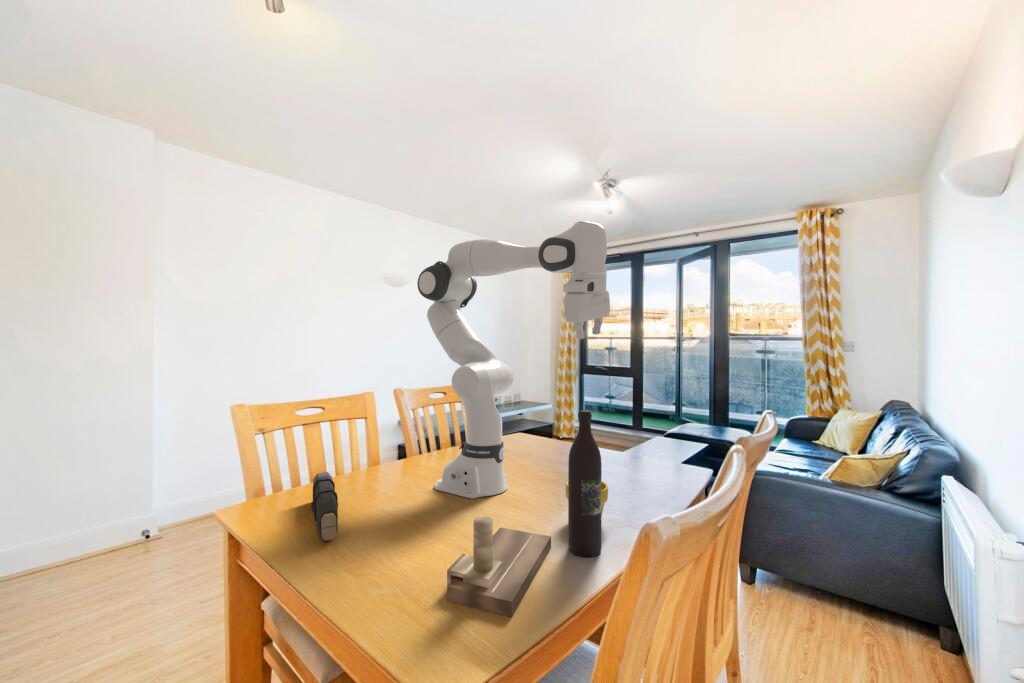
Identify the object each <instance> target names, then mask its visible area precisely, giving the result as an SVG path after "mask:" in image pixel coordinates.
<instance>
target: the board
mask: <svg viewBox="0 0 1024 683" xmlns="http://www.w3.org/2000/svg"><path fill="white" fill-rule="evenodd" d="M551 549H552V536H551V535H545V534H540V533H539V534H538V533H533V532H530V531H529V532H528V531H522V530H516V529H512V528H511V529H510V528H505V527H499V528H498V530H496V532H494V533H493V560H495V561H500V562H502V571H501V572H500V574H499V575H498V576H497V578H496V579H495V580H494V582H493V583H492V585H491V586H490V587H489V588H486V587H482V586H478V585H473V584H469V583H465V582H463V578H462V577H458V576H456V577H455V578H454V579H453V580H452V581H451V582H450V584H449V585H448V586H447V585H446V589H447V590H446V591H447V592H446V593H447V594H446V595H447V596H446V600H447V601H449V602H453V603H456V604H460V605H464V606H467V607H472V608H476V609H479V610H484V611H487V612H491V613H494V614H498V615H502V616H506V617H510V618H513V616H514V614H515V613H516V611H517V609H518V607H519V606H520V603H521V601H522V600H523V598H524V597H525V594H526V593H527V591H528V589H529V588H530V586H531V584H532V582H533V580H534V579H535V577H536V575H537V573H538V572H539V570H540V568H541V566H542V564H543V563H544V561H545V560H546V558H547V556H548V554H549V553H550V550H551Z"/></svg>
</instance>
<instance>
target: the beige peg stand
mask: <svg viewBox="0 0 1024 683" xmlns="http://www.w3.org/2000/svg"><path fill="white" fill-rule="evenodd" d="M493 522H494V520H493V518H492V517H489V516H477V517H476V518H474V519H473V545H472V546H473V547H472V548H473V549H472V550H473V554H472V555H470V554H466V553H462V554H461V555H460V556H459V557H458V558H457V559H456V560H455V561H454V562H453V563H452V564H451V565H450V566H449V567H448V568H447V570H446V587H447V586H448V585H449V584H450V582H451V581H452V580H453V579H454V578H455V577H456V576H458V577H462V578H463V582H465V583H469V584H473V585H478V586H482V587H486V588H489V587H490V586H491V585H492V583H493V582H494V580H495V579H496V578H497V576H498V575H499V574H500V572H501V571H502V562H500V561H495V560H493V535H494V523H493Z"/></svg>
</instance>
